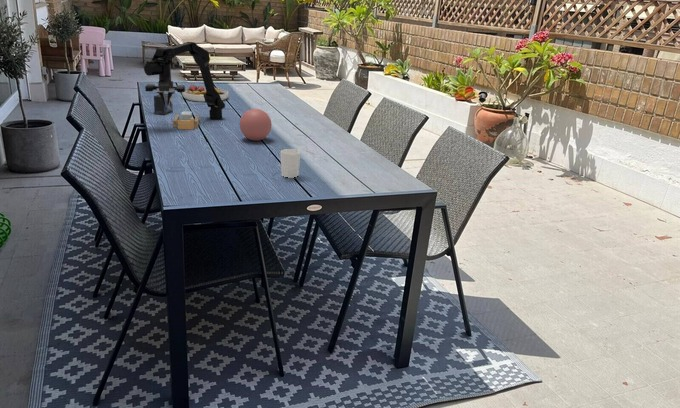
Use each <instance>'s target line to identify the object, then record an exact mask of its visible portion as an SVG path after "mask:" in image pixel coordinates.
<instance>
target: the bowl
mask: <svg viewBox="0 0 680 408" xmlns="http://www.w3.org/2000/svg"><path fill="white" fill-rule="evenodd" d="M185 90H186V91H185V92H181V94H182V97H183V98H184V99H185V100H189V101H190V102H196V103H197V102H199V103H206V102H205V98H204V95H205V94H206V88H205V86H202V85H198V86H197V85H196V84H191V85H190V86H189V88H185ZM215 90H216V91H217V92H218V93H219V95H220V97H221V100H222V101H223V102H224V101H225V100H227V99H228V98H229V91H228V90H225V89H221V88H218V87H215Z"/></svg>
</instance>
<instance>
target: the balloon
mask: <svg viewBox="0 0 680 408" xmlns="http://www.w3.org/2000/svg"><path fill="white" fill-rule="evenodd" d="M239 129H240V131H241V133H242V135H243V136H244V137H245V138H246V139H248V140H249V141H250V140H251V141H255V142H256V141H261V140H265V138H267V137H268V136H269V134H270V133H271V130H272V120H271V117H270V115H268V113H267V112H265V110H262V109H259V108H251V109H248V110H247V111H245V112H243V114H242V115H241V117H240V120H239Z"/></svg>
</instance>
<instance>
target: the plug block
mask: <svg viewBox="0 0 680 408" xmlns="http://www.w3.org/2000/svg"><path fill="white" fill-rule="evenodd" d="M191 118H193V111H182V112H181V113H180V120H190V119H191Z"/></svg>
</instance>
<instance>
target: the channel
mask: <svg viewBox="0 0 680 408" xmlns="http://www.w3.org/2000/svg"><path fill="white" fill-rule="evenodd" d="M178 120H180V114H175V117H174V119H173V121H172V122H173V123H172V124H173V128H175V129H178ZM199 124H200V115H199V114H195V118H194V129H197V128H199Z"/></svg>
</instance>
